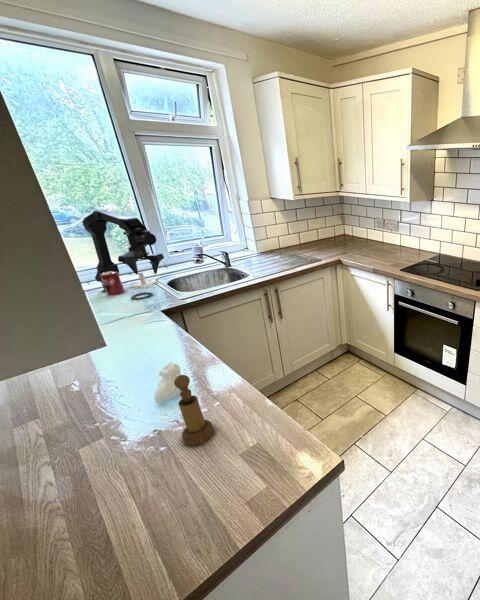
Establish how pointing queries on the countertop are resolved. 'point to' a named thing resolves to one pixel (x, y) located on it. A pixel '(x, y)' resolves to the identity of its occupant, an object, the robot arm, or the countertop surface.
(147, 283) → the peg stand
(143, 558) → the countertop surface
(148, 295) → the hoop
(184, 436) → the mortar and pestle
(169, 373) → the bust
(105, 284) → the soda can
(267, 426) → the countertop surface
